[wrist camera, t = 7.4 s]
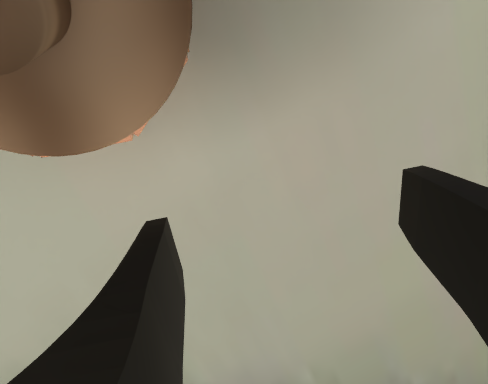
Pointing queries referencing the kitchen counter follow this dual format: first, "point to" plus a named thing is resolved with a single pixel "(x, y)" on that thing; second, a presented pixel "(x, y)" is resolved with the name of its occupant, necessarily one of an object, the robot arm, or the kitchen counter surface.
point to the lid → (86, 70)
